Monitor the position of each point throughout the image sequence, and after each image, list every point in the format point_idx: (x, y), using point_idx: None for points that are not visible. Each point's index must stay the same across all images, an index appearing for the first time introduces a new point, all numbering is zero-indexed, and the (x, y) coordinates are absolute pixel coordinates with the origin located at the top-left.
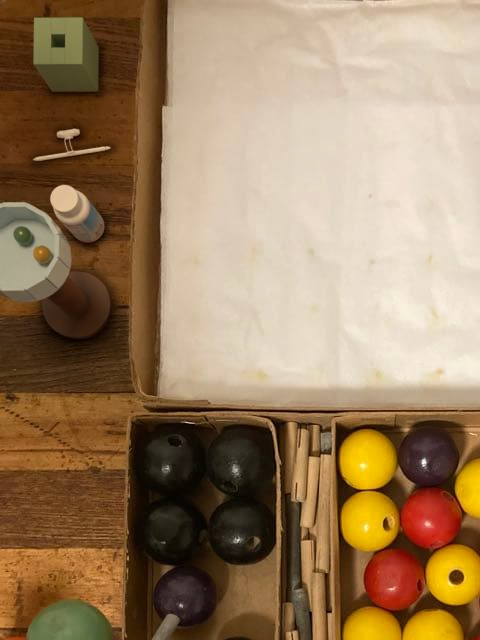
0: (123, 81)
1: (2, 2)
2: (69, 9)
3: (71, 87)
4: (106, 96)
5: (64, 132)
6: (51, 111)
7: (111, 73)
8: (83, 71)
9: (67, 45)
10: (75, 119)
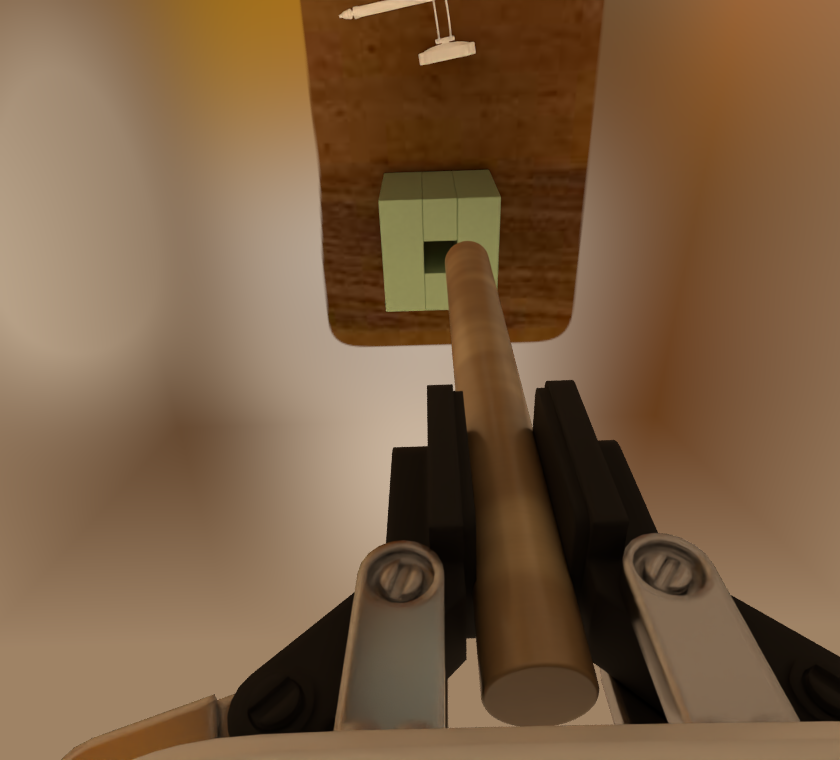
0: (330, 199)
1: (457, 245)
2: None
3: (439, 175)
4: (365, 162)
5: (454, 52)
6: (491, 119)
7: (358, 216)
8: (387, 192)
9: (417, 246)
10: (434, 99)
